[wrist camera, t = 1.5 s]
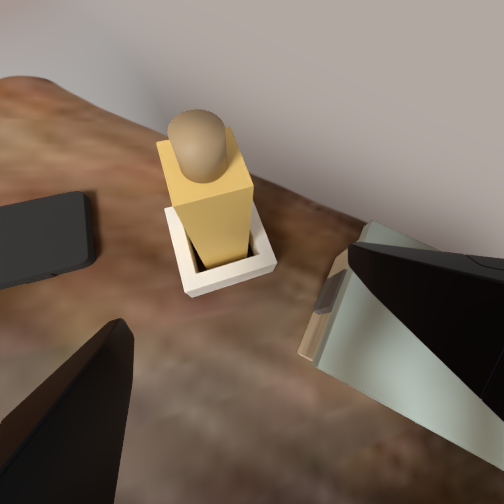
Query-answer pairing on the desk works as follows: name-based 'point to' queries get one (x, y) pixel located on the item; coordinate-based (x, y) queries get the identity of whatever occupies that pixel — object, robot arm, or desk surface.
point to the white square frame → (226, 273)
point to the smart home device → (45, 238)
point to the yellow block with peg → (208, 186)
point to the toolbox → (394, 358)
